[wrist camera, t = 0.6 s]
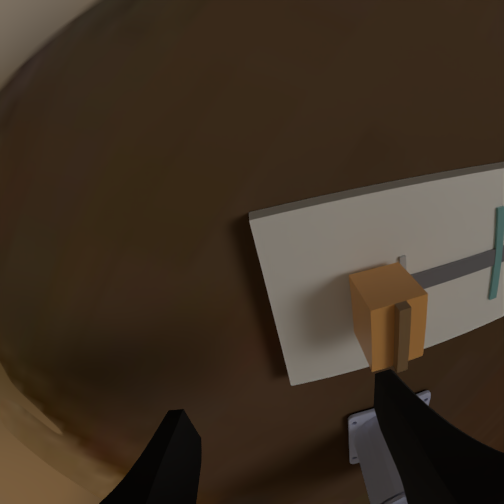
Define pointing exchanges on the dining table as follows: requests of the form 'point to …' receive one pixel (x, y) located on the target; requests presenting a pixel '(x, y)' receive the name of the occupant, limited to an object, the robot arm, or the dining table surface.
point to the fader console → (382, 260)
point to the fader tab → (388, 316)
